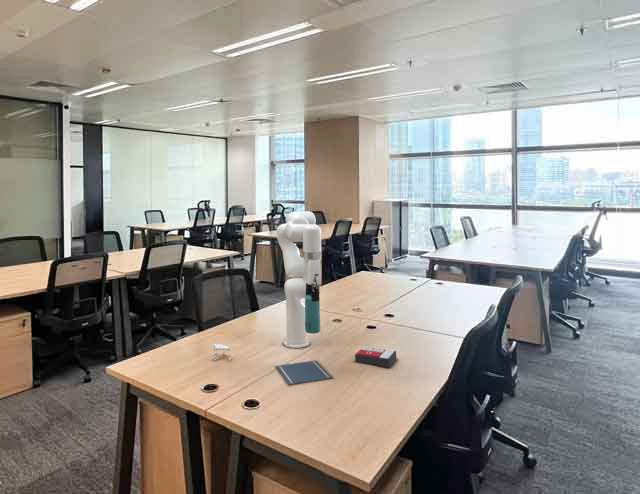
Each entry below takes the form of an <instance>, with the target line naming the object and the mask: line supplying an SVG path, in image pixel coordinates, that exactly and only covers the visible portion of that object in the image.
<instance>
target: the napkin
mask: <svg viewBox="0 0 640 494" xmlns="http://www.w3.org/2000/svg"><path fill="white" fill-rule="evenodd" d="M275 367H276V369H277V370H278V372H280V374H281V376H282V377H283V378H284V379H283V380H285V382H286V383H287V384H288V385H289V386H293V385H299V384H306V383H312V382H318V381H324V380H331V379H333V376H332V375H331V374H330V373H329V372H328V371H327V370H326V369H325V367H323V366H322V365H321V364H320V363H319V362H318V361H317V360H310V361H304V362H303V361H302V362H296V363H289V364H283V365H281V364H280V365H276V366H275Z"/></svg>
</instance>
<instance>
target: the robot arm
mask: <svg viewBox="0 0 640 494" xmlns="http://www.w3.org/2000/svg"><path fill="white" fill-rule="evenodd" d="M316 221H317V219H316V216H315V214H314V212H312V211H308V210H307V211H306V210H305V211H304V210H303V211H302V210H300V211H299V210H298V211H291V212H289V213H288V214H286V217H285V223H281V224H279V225H278V226H277V228H276V239H277V242H278V245H279V247H280V249H281V252H282V258H283V267H284V271H285V272H284V273H285V274H286V276H287V277H289V279H287V280H286V281H285V282H284V286H283V287H284V295H285V303H286V306H285V309H286V338H285V339H284V340H283V345H284V346H285V347H287V348H291V349H302V348H306V347H308V346H309V345H310V340H309V339H308V338H307V332H306V331H305V302H303V301H302V299H305V297H306V296H307V295H308V294H312V302H314V301H319V297H320V294H321V283H322V271H321V260H322V229H321V227H320V226H319V225H317V224H316V223H317V222H316ZM300 242H301V243H302V256H301V251H300V249H299V247H298V246H297V245H296V244H295V243H300ZM310 286H312V293H308V292H307V288H308V287H310ZM314 286H315V287H314Z"/></svg>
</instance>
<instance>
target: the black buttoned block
mask: <svg viewBox="0 0 640 494" xmlns="http://www.w3.org/2000/svg"><path fill="white" fill-rule="evenodd" d="M354 357H355V362H356V363H363V364H370V365H376V366H379V367H380V368H386V369H390V368H391V366H393V364H394V363H395V361H396V360H397V350H395V349H386V348H382V347H374V346H366V345H363V347H362V348H360V349H359V350H358V351H357V352H356V353H355V354H354Z"/></svg>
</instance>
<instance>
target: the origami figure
mask: <svg viewBox="0 0 640 494" xmlns="http://www.w3.org/2000/svg"><path fill="white" fill-rule="evenodd" d="M213 350H214V351H213V352H212V354H211V357H214V358H215V359H213V361H217V360H218V359H219V357H218V356H217V352H218V351H223V352H222V355H223V356H225V352H226V351H229V352H230V355H231V356H229V357H228V362H230V360H231V359H232V357H233V356H234V354H233V352H232V349H231V348H230V347H229V346H228V345H225V344H222V343H221V344H220V343H219V344H218V343H215V344H214V343H213Z"/></svg>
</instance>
